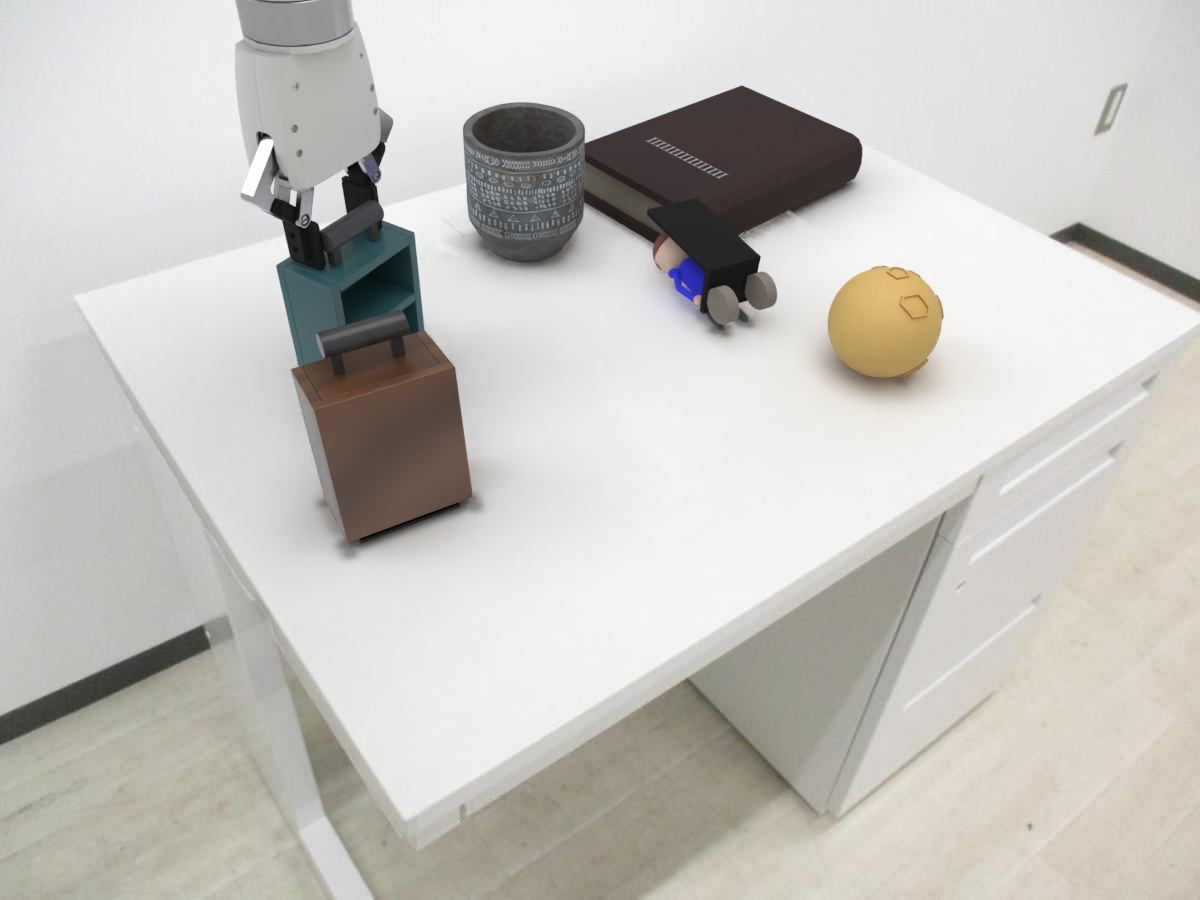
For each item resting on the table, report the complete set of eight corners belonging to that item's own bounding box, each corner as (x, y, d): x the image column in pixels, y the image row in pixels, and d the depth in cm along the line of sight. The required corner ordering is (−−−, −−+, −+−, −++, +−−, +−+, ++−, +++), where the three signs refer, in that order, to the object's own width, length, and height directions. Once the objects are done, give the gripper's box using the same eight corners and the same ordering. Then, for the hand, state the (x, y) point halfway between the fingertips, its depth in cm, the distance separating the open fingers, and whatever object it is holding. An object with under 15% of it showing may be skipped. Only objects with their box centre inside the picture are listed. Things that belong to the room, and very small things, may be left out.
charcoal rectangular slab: (460, 506, 74) (459, 504, 73) (360, 543, 71) (360, 540, 70) (430, 459, 77) (430, 456, 77) (335, 492, 74) (334, 489, 74)
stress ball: (875, 413, 83) (904, 320, 76) (796, 356, 89) (816, 265, 82) (948, 374, 88) (981, 283, 81) (868, 322, 93) (893, 232, 87)
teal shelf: (267, 229, 72) (325, 252, 70) (355, 176, 78) (411, 197, 76) (301, 383, 82) (353, 407, 80) (377, 326, 89) (426, 347, 87)
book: (693, 266, 100) (698, 216, 96) (573, 195, 110) (573, 147, 106) (855, 186, 114) (867, 140, 110) (735, 129, 124) (742, 85, 120)
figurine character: (771, 337, 93) (687, 249, 101) (789, 277, 88) (699, 188, 95) (715, 357, 91) (634, 265, 99) (730, 297, 85) (643, 204, 93)
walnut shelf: (450, 326, 64) (418, 291, 68) (303, 368, 60) (279, 328, 64) (473, 497, 73) (444, 457, 77) (347, 543, 69) (324, 498, 73)
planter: (528, 285, 96) (525, 168, 87) (446, 242, 102) (436, 127, 93) (606, 240, 103) (610, 127, 94) (525, 201, 109) (522, 91, 100)
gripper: (338, -31, 71) (370, 188, 83) (155, 39, 60) (224, 280, 72) (419, -12, 69) (439, 212, 81) (243, 66, 57) (298, 311, 70)
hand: (337, 242), depth 77 cm, fingers closed on teal shelf, 6 cm apart
